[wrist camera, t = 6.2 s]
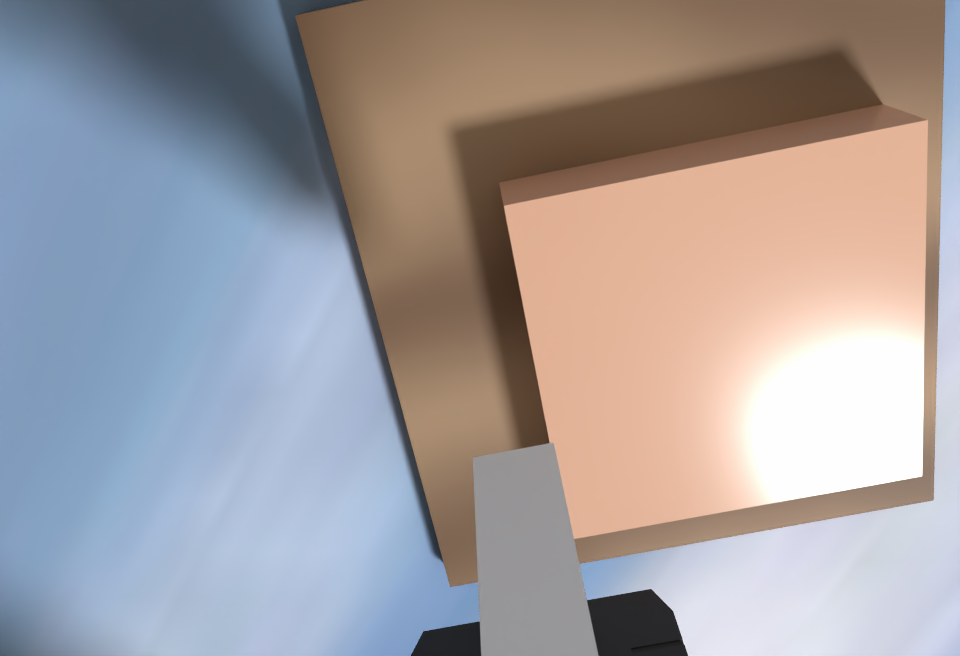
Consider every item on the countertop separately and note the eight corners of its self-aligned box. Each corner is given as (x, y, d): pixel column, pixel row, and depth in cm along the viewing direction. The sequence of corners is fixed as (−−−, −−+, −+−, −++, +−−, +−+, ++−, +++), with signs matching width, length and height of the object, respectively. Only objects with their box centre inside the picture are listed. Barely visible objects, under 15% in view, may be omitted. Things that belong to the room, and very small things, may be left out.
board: (919, 484, 25) (933, 500, 24) (450, 568, 26) (450, 586, 25) (928, -123, 18) (948, -126, 18) (300, 13, 19) (294, 15, 18)
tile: (559, 494, 24) (884, 434, 23) (568, 540, 22) (921, 476, 21) (499, 182, 20) (883, 104, 20) (503, 205, 18) (927, 120, 18)
